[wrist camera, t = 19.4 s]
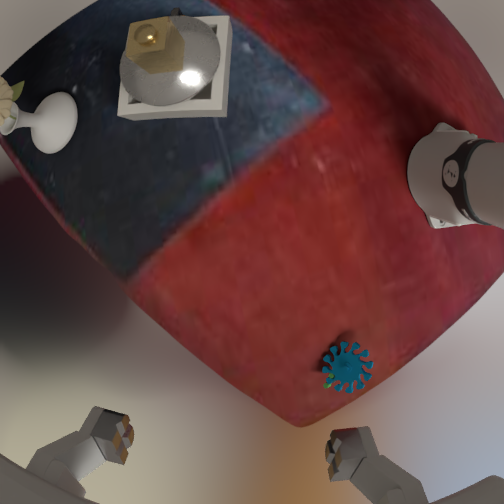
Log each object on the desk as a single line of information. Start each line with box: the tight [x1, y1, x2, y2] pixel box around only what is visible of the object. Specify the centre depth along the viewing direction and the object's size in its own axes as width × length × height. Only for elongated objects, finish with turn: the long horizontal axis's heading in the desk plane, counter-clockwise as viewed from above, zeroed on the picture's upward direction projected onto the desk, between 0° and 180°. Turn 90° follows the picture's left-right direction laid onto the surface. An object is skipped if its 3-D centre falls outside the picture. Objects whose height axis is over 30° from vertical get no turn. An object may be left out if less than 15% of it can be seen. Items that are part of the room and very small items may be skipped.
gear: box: [322, 341, 373, 393], centre depth 50 cm, size 11×6×10 cm
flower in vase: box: [0, 76, 78, 154], centre depth 28 cm, size 13×11×25 cm
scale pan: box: [120, 8, 221, 107], centre depth 33 cm, size 14×16×6 cm
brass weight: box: [126, 16, 185, 74], centre depth 26 cm, size 4×4×9 cm
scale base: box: [117, 16, 233, 120], centre depth 35 cm, size 15×15×6 cm
